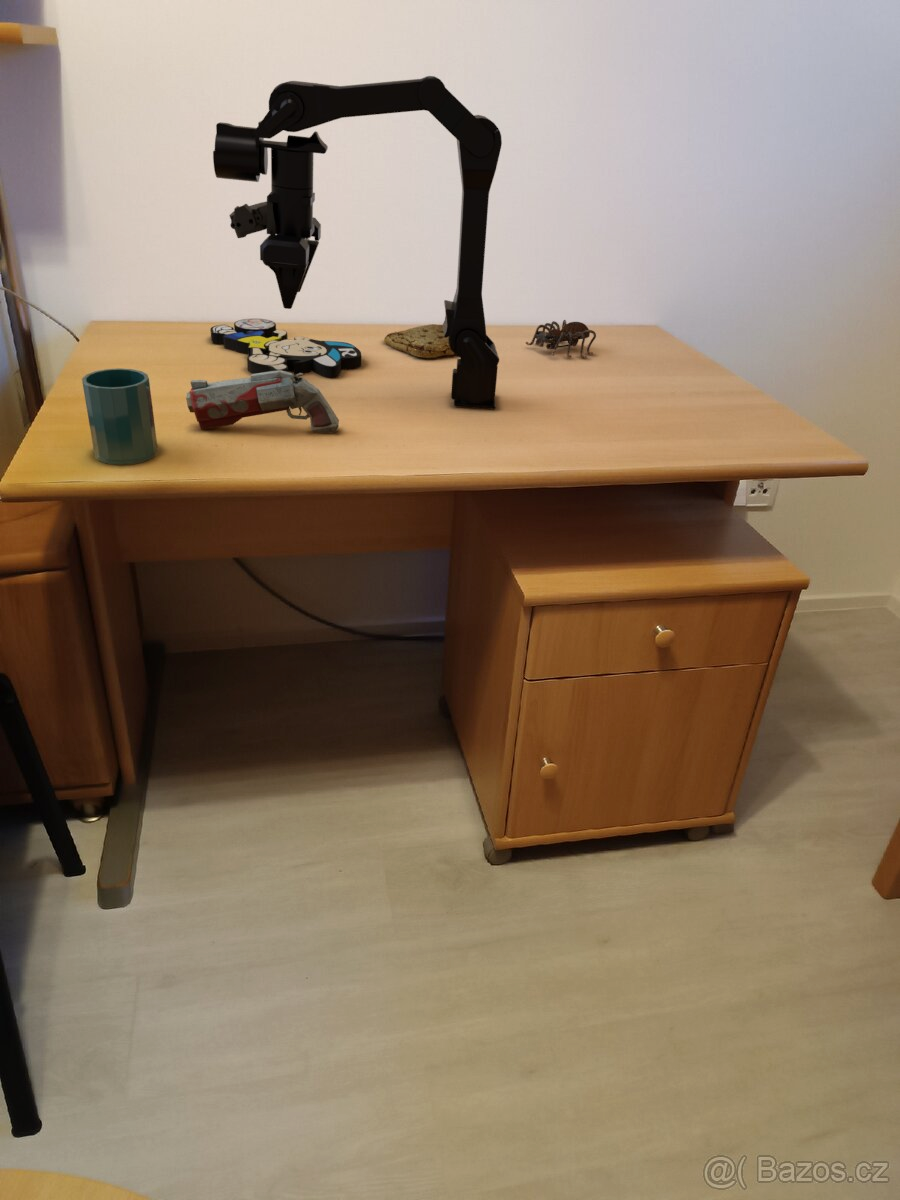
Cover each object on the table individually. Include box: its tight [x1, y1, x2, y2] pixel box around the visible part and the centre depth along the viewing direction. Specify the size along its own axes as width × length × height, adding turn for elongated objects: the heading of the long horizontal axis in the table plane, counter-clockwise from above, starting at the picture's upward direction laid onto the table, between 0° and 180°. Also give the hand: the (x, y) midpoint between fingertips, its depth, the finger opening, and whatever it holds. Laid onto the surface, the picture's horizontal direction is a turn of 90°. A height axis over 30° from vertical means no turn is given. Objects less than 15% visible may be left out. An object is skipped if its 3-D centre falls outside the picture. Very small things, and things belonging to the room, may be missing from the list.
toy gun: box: [185, 370, 340, 434], centre depth 123 cm, size 4×20×10 cm, turn 94°
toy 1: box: [209, 318, 362, 379], centre depth 154 cm, size 28×2×30 cm
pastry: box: [384, 323, 455, 359], centre depth 163 cm, size 17×17×3 cm
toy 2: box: [525, 319, 597, 359], centre depth 166 cm, size 12×12×5 cm
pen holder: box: [81, 367, 159, 466], centre depth 112 cm, size 8×8×10 cm
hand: (292, 299), depth 131 cm, fingers open, 9 cm apart
